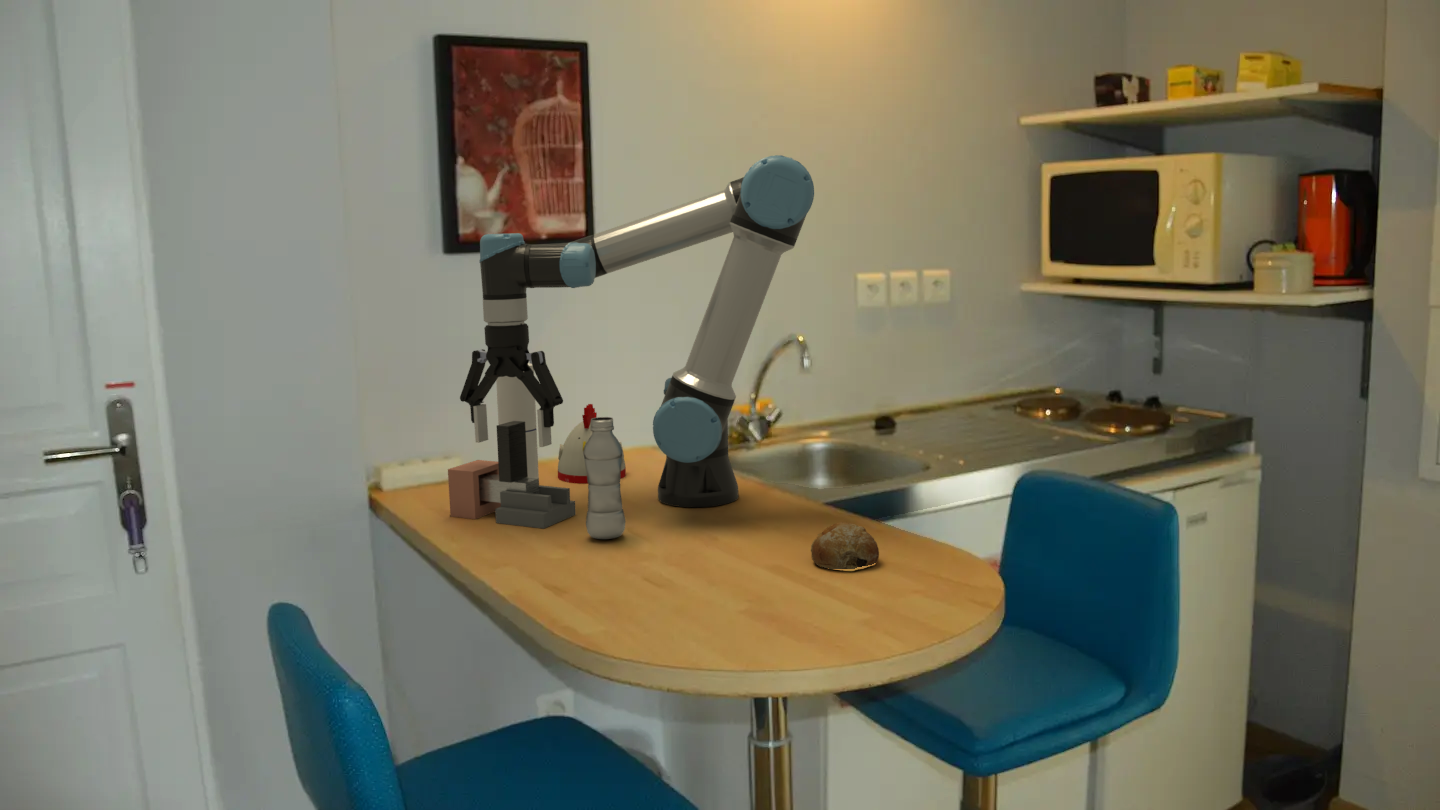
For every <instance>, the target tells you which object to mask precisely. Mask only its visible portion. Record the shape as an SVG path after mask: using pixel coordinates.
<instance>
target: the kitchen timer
mask: <svg viewBox="0 0 1440 810" xmlns="http://www.w3.org/2000/svg"><path fill="white" fill-rule="evenodd" d="M581 417H582V421H581V422H579V423H578V424H577V425H576V426H574V427H573V429H571V431H570V433H569V434H568V435H567V437H566V439H565V441H564V443H563V444H562V443H561V444H559V450H558V464H557V479H558V480H559V481H561V482H565V483H569V484H577V485H580V484H581V485H588V481H587V472H586V466H585V461H584V455H583V450H584V446H585V444H586V443H587V441H588V439H589V438H590V436H591V435H592V431H591V430H590V427H591V419H592V418H596V417H598V415H597V411H596V408H595V407H594V404H593V403H588V404H586V406H585V407H583V414H582V416H581ZM619 443H620V444H621V447H622V463H621V479H620V480H622V479H624V477H626V475H627V474H626V473H627V471H626V469H627V468H626V462H625V453H624V450H623V446H622V445H623V444H622V441H619Z"/></svg>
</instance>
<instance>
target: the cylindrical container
mask: <svg viewBox="0 0 1440 810" xmlns="http://www.w3.org/2000/svg"><path fill="white" fill-rule="evenodd" d="M528 365H529V367H530V368H531V369H532V371H533V372H534V373H535V371H534V369H533V366H532V364H530V362H528ZM523 372H524V371H523ZM495 383H496V396H497V397H496V399H497V401H496V404H497V419H498V423H497V424H498V425H500V424H504V423H508V422H511V421H522V422H525V430H526V452H527V474H528V478H538V479H539V480H540V477H539V475H540V474H539V473H540V472H539V456H538V455H539V454H538V429H537V410H536V409H537V407H536V406H537V405H536V400H535V399H534V397H533V396H532V394H531V393H530V392H529V390H528V389H527V388H526V386H525V385H524V384H523V382H522V381H521V380H519V379H518V378H517V377H508V376H504V377H498V378H497V380H496V381H495Z"/></svg>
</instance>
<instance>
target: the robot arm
mask: <svg viewBox="0 0 1440 810" xmlns="http://www.w3.org/2000/svg"><path fill="white" fill-rule="evenodd" d="M814 197H815V187H814V181H813V178H812V176H811V174H810V172H809V171H808V170H807V168H806V167H805V166H804V165H803V164H802V163H801V162H800V161H798V160H796V159H794V158H793V157H787V156H784V155H781V154H780V155H778V154H777V155H769V156H766V157H763V158H761V159H759V160H758V161H756V162H754V164H752V165H751V167H749V169H748V170H747V171H746V173H745V174H744V176H743V177H741V178H738V179H735V180H732V181H730V182H728V184H727V185H726V187H725V188H724V190H720V191H718V192H714V193H712V194H709V195H707V196H703V197H699V198H698V199H694V200H692V201H689V202H686V203H682V204H679V205H676V206H674V207H671V208H668V209H665V210H662V211H659V212H655V213H652V214H649V215H648V216H644V217H641V218H639V219H635V220H633V221H629V222H627V223H623V224H620V225H617V226H614V227H611V228H608V229H606V230H602V231H599V232H597V233H594V234H591V235H588V236H585V237H582V238H579V239H575V240H574V241H570V242H561V243H559V242H558V243H541V244H539V243H538V244H537V243H536V244H533V243H532V244H530V243H526V241H524V236H523V234H522V233H518V232H515V233H511V232H510V233H486V234H484V235H482V236H481V238H480V240H479V247H480V248H479V264H480V267H479V268H480V277H481V290H482V310H483V311H482V313H483V321H484V322H485V323H487V324H486V325H485V326H484V342H485V343H484V344H485V346H487V347H486V348H487V350H485V349H484V348H483V349H482V348H481V349H477V350H473V351H472V353H471V365H470V367H469V370H468V373H467V376H466V379H465V382H464V385H463V387H462V391H461V392H460V393H461V394H460V396H459V399H460V401H461V402H462V403H463V402H465V403H467V404H468V406H469V407H470V409H469V410H470V419H471V420H470V421H471V423H472V424H474V438H475V440H474V441H475V443H482V442H486V441H488V440H489V430H488V414H487V404H486V403H485V401H484V400H485V398H486V397H487V395H488V393H489V392H490V391H491V389H492V387H494V385H495V383H496V380H497V378H498V377H504V376H508V377H517V378H518V379H519V380H521V381H522V382H523V384H524V385H525V386H526V388H527V389H528V390H529V392H530V393H531V394H532V396H533V397H534V399H535V402H536V403H537V404H538V405H539V409H537V410H536V416H537V428H538V429H537V434H538V447H539V448H544V447H548V446H550V445H552V443H553V442H552V427H554V425H555V416H554V415H555V414H554V408H555V407H556V406H560V405H562V404H563V403H564V398H563V397H562V395H561V392H560V390H559V388H558V386H557V384H556V382H555V379H554V378H553V375H552V373H551V371H550V369H549V367H548V364H547V362H546V361H547V360H546V353H545V352H544V351H543V350H539V351H538V350H537V351H534V352H530V351H529V348H528V347H529V343H530V331H529V325H528V323H525V322H526V321H527V320H528V318H529V316H528V301H527V289H535V288H537V289H539V288H543V289H544V288H546V289H547V288H550V289H551V288H554V289H555V288H558V289H559V288H571V289H576V288H581V287H582V288H584V287H591V286H592V285H593V284H594V282H595V279H596V278H600V277H602V276H605V275H607V274H610V273H613V272H616V271H619V270H623V269H625V268H628V267H632V266H635V265H638V264H640V263H643V262H644V263H645V262H647V261H649V260H653V259H656V258H659V257H662V256H665V255H668V254H671V253H673V252H677V251H681V250H683V249H686V248H689V247H692V246H694V245H698V244H701V243H703V242H707V241H711V240H714V239H717V238H719V237H723V236H725V235H728V234H731V233H733V238H732V240H731V243H730V246H729V249H728V251H727V254H726V256H725V260H724V262H723V265H722V267H721V270H720V273H719V275H718V277H717V278H718V279H717V281H716V283H715V286H714V289H713V292H712V294H711V297H710V300H709V302H708V304H707V308H706V309H705V313H704V316H703V317H702V321H701V324H700V327H699V329H698V332H697V333H696V334H697V335H696V336H695V340H694V342H693V344H692V347H691V350H690V352H689V356H688V358H687V360H686V363H685V366H684V367H683V368H681V369H678V370H677V371H675V372H673V373H672V376H671V377H668V378H667V379H665V381H664V387H663V388H664V389H663V395H664V397H663V400H662V401H661V405H660V406H659V408H658V409H657V410H656V412H655V413H654V416H653V419H652V433H653V438H654V441H655V443H656V445H657V446H658V448H659V450H660V451H661V452H662V453H663V454H664V455H666V457H665V463H664V466H663V469H662V473H661V476H660V479H659V482H658V486H657V499H658V501H659V502H661V503H662V504H665V505H669V506H674V507H675V506H676V507H681V508H683V507H685V508H708V507H716V506H722V505H727V504H731V503H733V502H735V501H737V500H738V498H739V484H738V481H737V478H736V476H735V472H734V470H733V467H732V465H731V461H730V457H729V416H730V413H731V411H732V409H733V406H734V403H735V401H736V398H737V395H736V393H735V391H734V388H733V386H732V385H733V381H734V380H735V377H736V374H737V371H738V369H739V366H740V364H741V360H742V358H743V356H744V353H745V351H746V347H747V345H748V342H749V341H750V338H751V334H752V332H753V329H754V327H755V324H756V322H757V319H758V317H759V313H760V312H761V309H762V305H763V303H764V300H765V298H766V296H767V294H768V291H769V288H770V286H771V282H772V281H773V278H774V274H775V272H776V270H777V267H778V264H779V262H780V259H781V257H782V255H783V254H784V253H786V252H788V251H790V250H792V249H794V248H795V245H796V243H797V241H798V238H799V235H800V233H801V230H802V229H803V226H804V225H803V224H804V222H805V219H806V217H807V215H808V213H809V211H810V210H811V209H812V205H813V203H814V199H815V198H814ZM487 362H488V363H489V366H488V368H487V369H486V371H485V372H484V370H485V366H486V363H487ZM528 363H530V364H532V366H533V369H534V372H533V371H532V369H531V368H530V367H529V365H528ZM523 371H524V372H523ZM483 372H484V376H483V377H482V375H483ZM535 375H536V376H535ZM481 377H482V380H481Z"/></svg>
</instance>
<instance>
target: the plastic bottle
mask: <svg viewBox="0 0 1440 810" xmlns="http://www.w3.org/2000/svg"><path fill="white" fill-rule="evenodd" d="M590 430H591V431H592V435H591V436H590V438H589V439H588V441H587V443H586V444H585V446H584V450H583V455H584V461H585V466H586V472H587V481H588V484H587V490H588V495H587V496H588V497H587V512H586V515H585V516H586V518H585V526H586V531H587V534H588V535H589V536H590V538H592V539H594V540H595V539H596V540H609V539H616V538H619V537H621V536H623V533H624V532H625V529H626V522H627V521H626V515H625V511H624V509H623V500H622V492H621V480H622V479H621V463H622V449H623V446H622V447H621V444H620V443H619V442H620V441H619V439H618V438H617V437H616V436H615V435H614V433H613V431H614V430H615V426H614V418H613V417H610V416H597V417H596V418H592V419H591V427H590Z"/></svg>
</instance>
